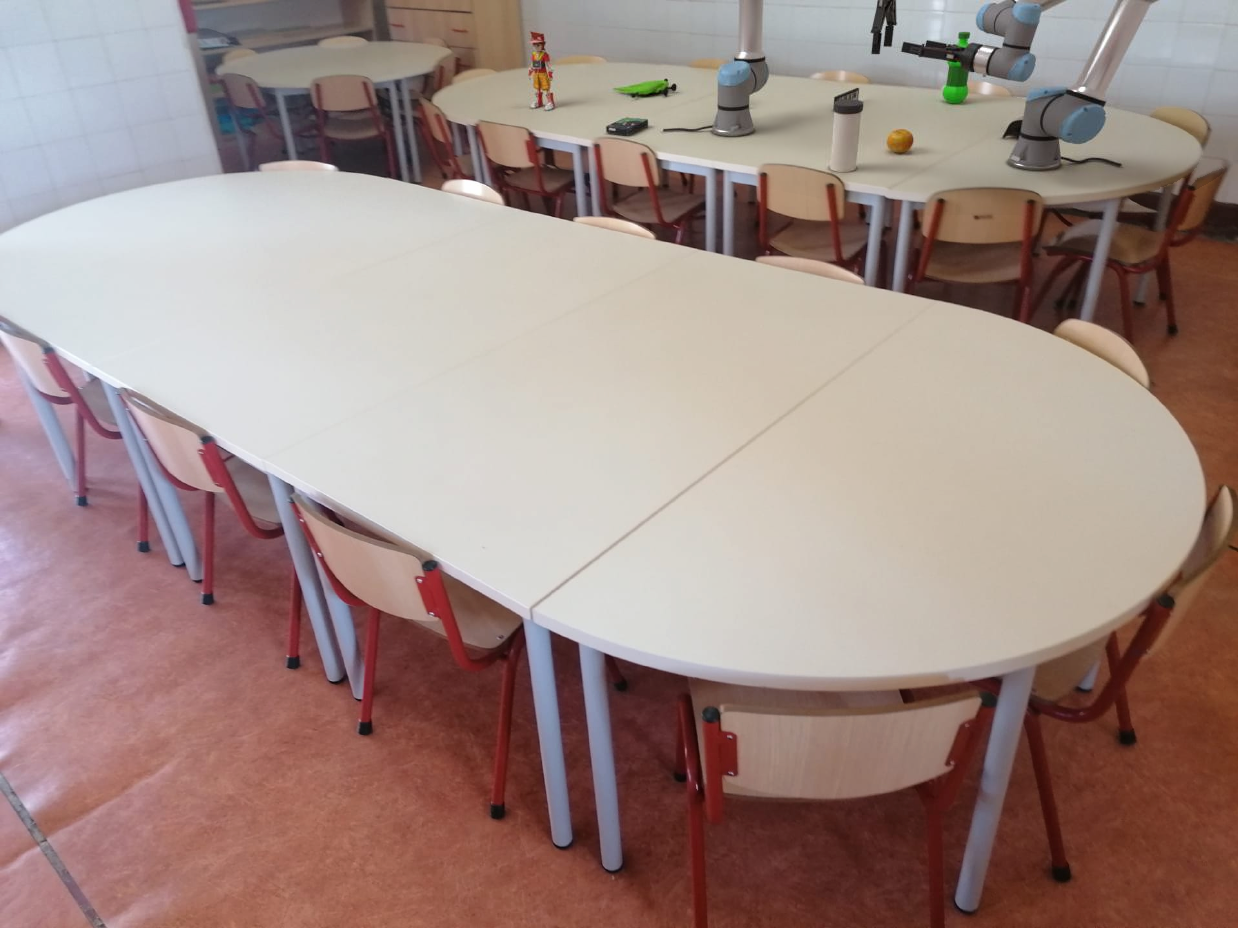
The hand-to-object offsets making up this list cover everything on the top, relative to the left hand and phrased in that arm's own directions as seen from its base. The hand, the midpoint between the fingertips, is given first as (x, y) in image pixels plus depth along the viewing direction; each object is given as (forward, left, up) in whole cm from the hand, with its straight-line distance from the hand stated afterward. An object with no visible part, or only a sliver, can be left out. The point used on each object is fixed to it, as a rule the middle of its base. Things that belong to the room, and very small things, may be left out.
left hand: (881, 50), depth 308 cm
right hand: (+20, -35, +8) cm, 41 cm away
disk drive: (-88, -25, -28) cm, 96 cm away
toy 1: (-142, -6, -28) cm, 144 cm away
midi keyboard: (-22, +36, -28) cm, 51 cm away
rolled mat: (+51, +23, -28) cm, 62 cm away
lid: (+3, -42, -8) cm, 43 cm away
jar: (+3, -42, -28) cm, 51 cm away
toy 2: (-114, +32, -28) cm, 122 cm away
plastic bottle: (+16, +54, -28) cm, 63 cm away
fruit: (+15, -18, -28) cm, 37 cm away
